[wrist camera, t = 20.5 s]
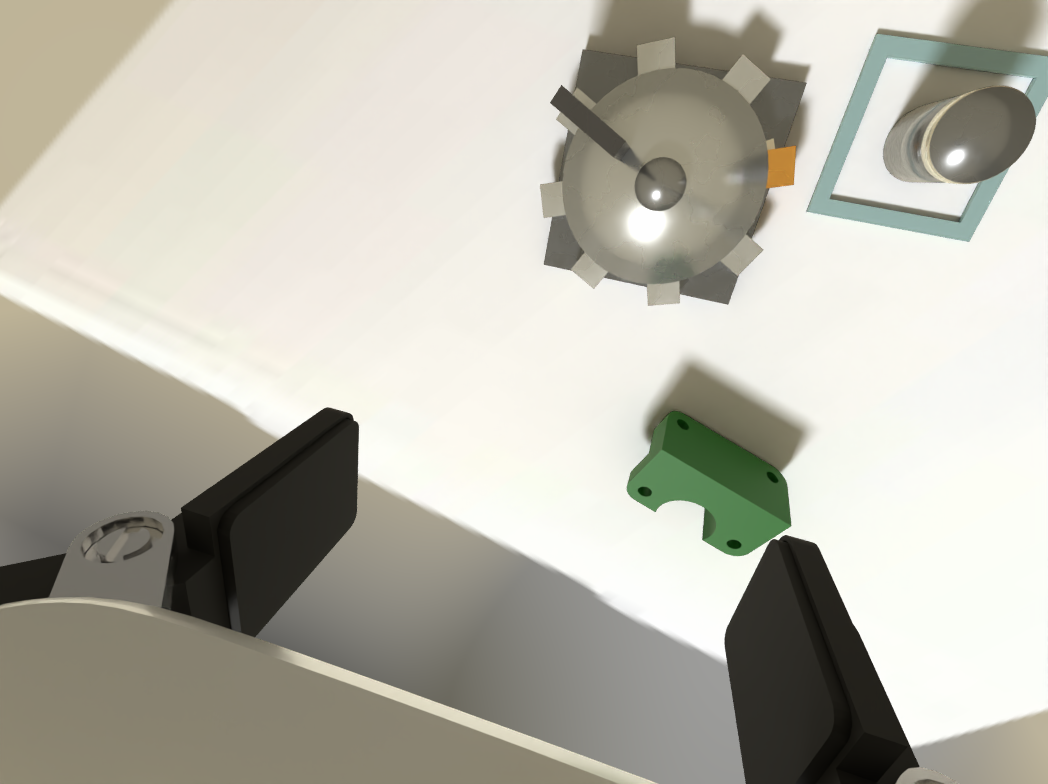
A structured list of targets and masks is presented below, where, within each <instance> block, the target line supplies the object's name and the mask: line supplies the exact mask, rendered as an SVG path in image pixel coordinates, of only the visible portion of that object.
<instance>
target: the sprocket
mask: <svg viewBox="0 0 1048 784" xmlns="http://www.w3.org/2000/svg"><path fill="white" fill-rule="evenodd" d="M637 63H638V76H636V77H634V78H631V79H629V80H627V81H625V82H624V83H622V84H620V85H619V86H617V87H615V88H614V89H613V90H612V91H610V92H609V93H608V94H606V95H605V96H604V97H603V98H602V99H601V100H600V101H599V102H598V103H597V104H596V103H595V102H593V101H592V100H591V99H590V98H589V97H588V96H587V95H585V94H584V93H583V92H582V91H581V90H580V89H579V88H577V89H576V90H575V92H574V93H573V95H572V94H571V93H570V92H569V91H568V90H567V89H565V88H564V87H563V86H562V85H561V87H560V88H559V90H558V91H557V93H556V95H555V96H554V98H553V99H552V101H551V102H550V103H551V104H552V105H553V106H554V107H556V108H557V109H558V110H559V111H560V112H561V113H560V114H559V116H558V117H557V119H556V120H557V121H559V122H560V123H561V124H562V125H563V126H564V127H566V128H567V129H568V130H569V131H570V132H571V133H573V134H574V135H575V136H574V138H573V140H572V142H571V144H570V147H569V150H568V153H567V156H566V160H565V165H564V170H563V181H560V182H554V183H547V184H540V189H541V198H542V207H543V216H544V218H547V217H554V216H562V215H566V218H567V221H568V224H569V226H570V229H571V231H572V233H573V235H574V237H575V239H576V240H577V242H578V244H579V245H580V247H581V248H582V249H583V251H584V254H583V255H582V256H581V257H580V259H579V260H578V261H577V262H576V264H575V265H574V266H573V267H572V269H571V270H572V271H573V272H574V273H576V274H577V275H578V276H579V277H580V278H581V279H583V280H584V281H585V282H586V283H587V284H589V285H590V286H591V287H592V288H593V289H594V288H595V287H596V286H597V285H598V283H599V282H600V281H601V280H602V279H603V277H604V276H605V275H606V274H607V273H608V272H609V273H611V274H613V275H615V276H617V277H620V278H622V279H625V280H628V281H632V282H637V283H644V284H647V296H648V306H651V305H664V304H676V303H680V289H679V281H681V280H684V279H688V278H690V277H693V276H695V275H697V274H700V273H702V272H704V271H705V270H707V269H709V268H711V267H712V266H714V265H715V264H716V263H718V262H719V261H721V262H722V263H723V264H724V265H726V266H727V267H728V268H729V269H730V270H731V271H733V272H734V273H735V274H736V275H737V276H738V275H739V274H740V273H741V272H742V271H743V270H744V269H745V268H746V267H747V266H748V265H749V264H750V263H751V262H752V261H753V260H754V259H755V258H756V257H757V256H758V255H759V254H760V253H761V252H762V251H763V249H762V248H761V247H760V246H759V245H758V244H756V243H755V242H754V241H753V240H752V239H751V238H749V237H748V236H747V235H746V233H747V232H748V230H749V229H750V227H751V226H752V224H753V222H754V220H755V218H756V216H757V214H758V212H759V209H760V206H761V204H762V201H763V198H764V194H765V190H766V188H773V187H780V186H788V185H794V172H795V155H796V146H791V147H784V148H778V149H771V150H767V144H766V139H765V136H764V132H763V129H762V126H761V124H760V122H759V120H758V118H757V116H756V114H755V112H754V110H753V109H752V108H751V106H750V105H749V104H750V103H751V102H752V101H753V100H754V99H755V97H756V96H757V95H758V94H759V93H760V91H761V90H762V89H763V88H764V87H765V85H766V84H767V83H768V82H769V81H770V80H771V79H770V78H769V77H768V76H767V75H766V74H765V73H763V72H762V71H761V70H760V69H759V68H758V67H757V66H756V65H755V64H753V63H752V62H751V61H750V60H749V59H748V58H747V57H746V56H745V55H743V54H742V56H741V57H740V58H739V59H738V61H737V62H736V63H735V64H734V66H733V67H732V68H731V69H730V71H729V72H728V73H727V74H726V76H725V77H724V78H723V79H722V80H721V79H719V78H717V77H715V76H714V75H711V74H708V73H705V72H702V71H699V70H693V69H687V68H675V37H672V38H668V39H663V40H659V41H654V42H649V43H645V44H640V45H637Z"/></svg>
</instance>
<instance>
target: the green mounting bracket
mask: <svg viewBox="0 0 1048 784" xmlns="http://www.w3.org/2000/svg"><path fill="white" fill-rule="evenodd" d="M627 492H628V494H629V495H630V496H631V497H632V498H633V499H634V500H636V501H637V502H639V503H641V504H643V505H644V506H646V507H648V508H649V509H651V510H653V511H654V512H656V510H657V509H658V508H659V507H660V506H661V505H662V504H664V503H666V502H669V501H675V500H683V501H689V502H693V503H696V504H698V505H701V506H702V507H704V508H705V512H704V525H703V537H702V540H703V541H705V542H707V543H708V544H710V545H712V546H714V547H715V548H717V549H719V550H720V551H722V552H724V553H726V554H729V555H733V556H743V555H746V554H749V553H750V552H752V551H753V550H755V549H756V548H758V547H759V546H761V545H763V544H764V543H766V542H767V541H769V540H770V539H772V538H773V537H775V536H777V535H778V534H780V533H781V532H783V531H784V530H786V529H788V528H789V527H791V517H790V507H789V497H788V487H787V483H786V480H785V478H784V477H783V475H782V474H781V473H780V472H779V471H778V470H777V469H776V468H774V467H773V466H771V465H770V464H768V463H766V462H765V461H763V460H761V459H759V458H758V457H756V456H754V455H753V454H751V453H749V452H748V451H746V450H744V449H743V448H741V447H739V446H737V445H736V444H734V443H732V442H731V441H729V440H727V439H726V438H724V437H722V436H721V435H719V434H717V433H715V432H714V431H712V430H710V429H709V428H707V427H705V426H704V425H702V424H700V423H698V422H697V421H695V420H693V419H692V418H690V417H688V416H687V415H685V414H683V413H681V412H678V411H672V412H670V413H669V414H668V415H667V416H666V417H665V418H664V419H663V421H662V422H661V423H660V424H659V425H658V426H657V427H656V428H655V429H654V432H653V437H652V441H651V446H650V451H649V454H648V455H647V456H646V457H645V458H644V459H643V460H642V461H641V462H640V463H639V464H638V465H637V466H636V467H635V468H634V469H633V470H632V471H631V473H630V477H629V481H628V485H627Z"/></svg>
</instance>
